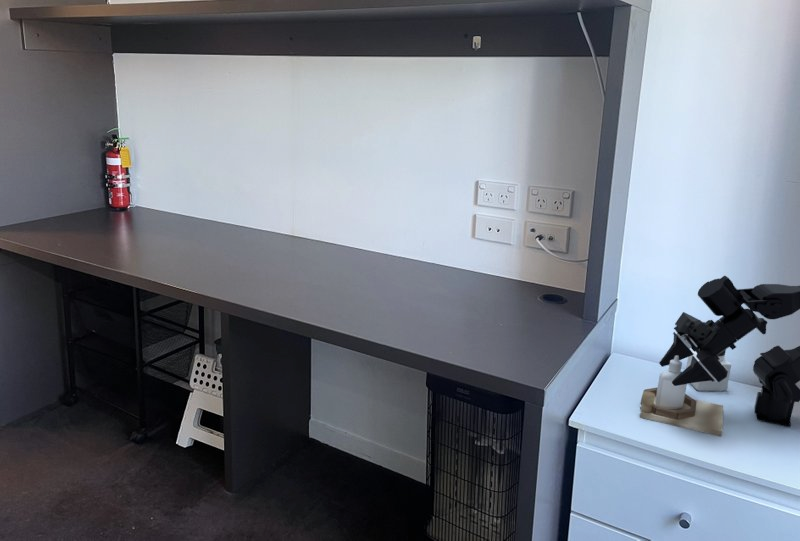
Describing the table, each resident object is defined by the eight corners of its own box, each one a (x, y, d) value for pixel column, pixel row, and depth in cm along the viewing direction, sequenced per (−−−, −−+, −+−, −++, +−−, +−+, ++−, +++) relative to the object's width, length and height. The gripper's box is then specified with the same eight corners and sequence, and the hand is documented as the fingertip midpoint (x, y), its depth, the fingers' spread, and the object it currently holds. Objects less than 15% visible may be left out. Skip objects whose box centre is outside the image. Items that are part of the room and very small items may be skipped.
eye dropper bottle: (680, 413, 143) (689, 363, 139) (653, 406, 146) (661, 356, 142) (684, 405, 147) (692, 355, 143) (657, 398, 149) (665, 349, 146)
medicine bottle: (712, 377, 163) (720, 332, 159) (726, 391, 156) (736, 344, 152) (683, 377, 162) (691, 332, 159) (697, 391, 156) (705, 344, 152)
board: (722, 410, 147) (726, 389, 146) (721, 436, 137) (725, 414, 135) (644, 393, 154) (647, 373, 152) (637, 416, 144) (640, 395, 142)
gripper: (689, 288, 147) (632, 331, 152) (721, 320, 130) (655, 367, 134) (720, 323, 149) (662, 365, 153) (755, 359, 131) (689, 405, 136)
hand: (666, 374), depth 144 cm, fingers open, 9 cm apart
